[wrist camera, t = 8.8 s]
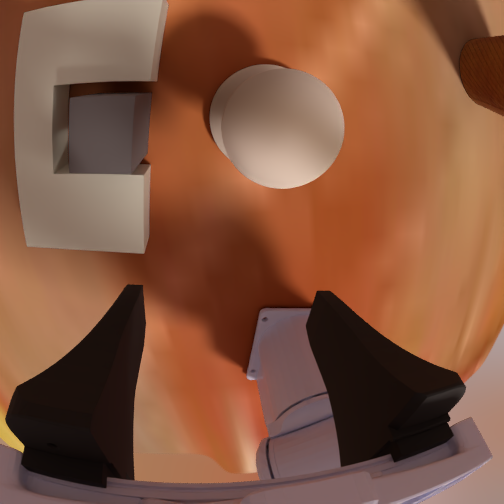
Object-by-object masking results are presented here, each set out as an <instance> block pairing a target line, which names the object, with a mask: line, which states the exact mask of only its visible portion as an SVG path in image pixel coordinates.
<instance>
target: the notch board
mask: <svg viewBox="0 0 504 504" xmlns="http://www.w3.org/2000/svg"><path fill="white" fill-rule="evenodd" d="M168 6H169V5H168V3H167V1H166V0H83V1H77V2H70V3H65V4H59V5H54V6H49V7H45V8H40V9H36V10H32V11H28V12H24V15H23V20H22V26H21V32H20V39H19V46H18V54H17V64H16V75H15V92H14V146H15V163H16V175H17V185H18V194H19V202H20V209H21V216H22V222H23V228H24V233H25V239H26V244H27V247H41V248H56V249H73V250H89V251H106V252H123V253H141V254H144V252H145V249H146V246H147V242H148V239H149V209H150V170H151V164H139V165H138V166H137V167H136V169H135V170H134V171H133V173H132V174H84V173H69V163H68V107H69V89H70V84H78V83H93V82H116V81H157V79H158V71H159V63H160V55H161V48H162V41H163V35H164V28H165V22H166V17H167V11H168Z"/></svg>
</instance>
